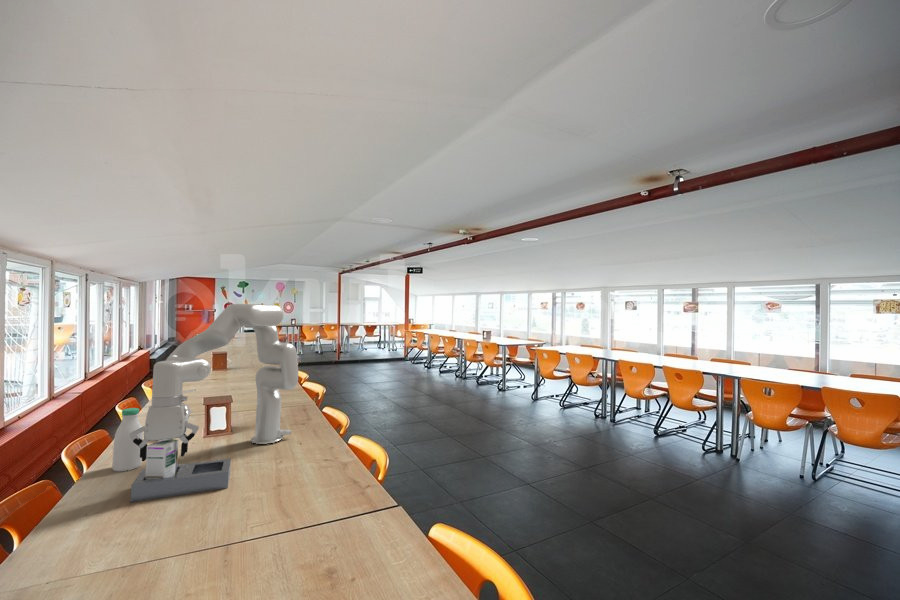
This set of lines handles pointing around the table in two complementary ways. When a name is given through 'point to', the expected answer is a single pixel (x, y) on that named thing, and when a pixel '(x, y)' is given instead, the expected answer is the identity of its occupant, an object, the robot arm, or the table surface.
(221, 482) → the slotted tray
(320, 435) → the table surface
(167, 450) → the syrup box
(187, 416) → the cup with straw
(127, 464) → the milk bottle
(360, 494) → the table surface
